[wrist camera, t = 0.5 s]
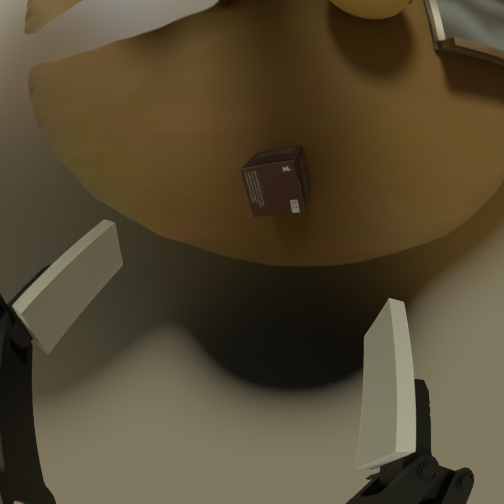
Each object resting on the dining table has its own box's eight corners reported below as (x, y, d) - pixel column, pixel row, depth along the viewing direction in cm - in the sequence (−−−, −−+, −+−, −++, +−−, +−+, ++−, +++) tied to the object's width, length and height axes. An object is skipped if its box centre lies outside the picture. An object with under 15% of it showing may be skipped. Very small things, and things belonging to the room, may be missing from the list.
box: (256, 151, 34) (239, 167, 28) (302, 144, 32) (294, 158, 26) (266, 194, 37) (252, 218, 31) (310, 189, 35) (305, 213, 29)
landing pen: (404, -52, 11) (413, -69, 7) (501, -22, 6) (519, -29, 2) (434, 49, 20) (451, 44, 15) (525, 74, 15) (548, 77, 10)
